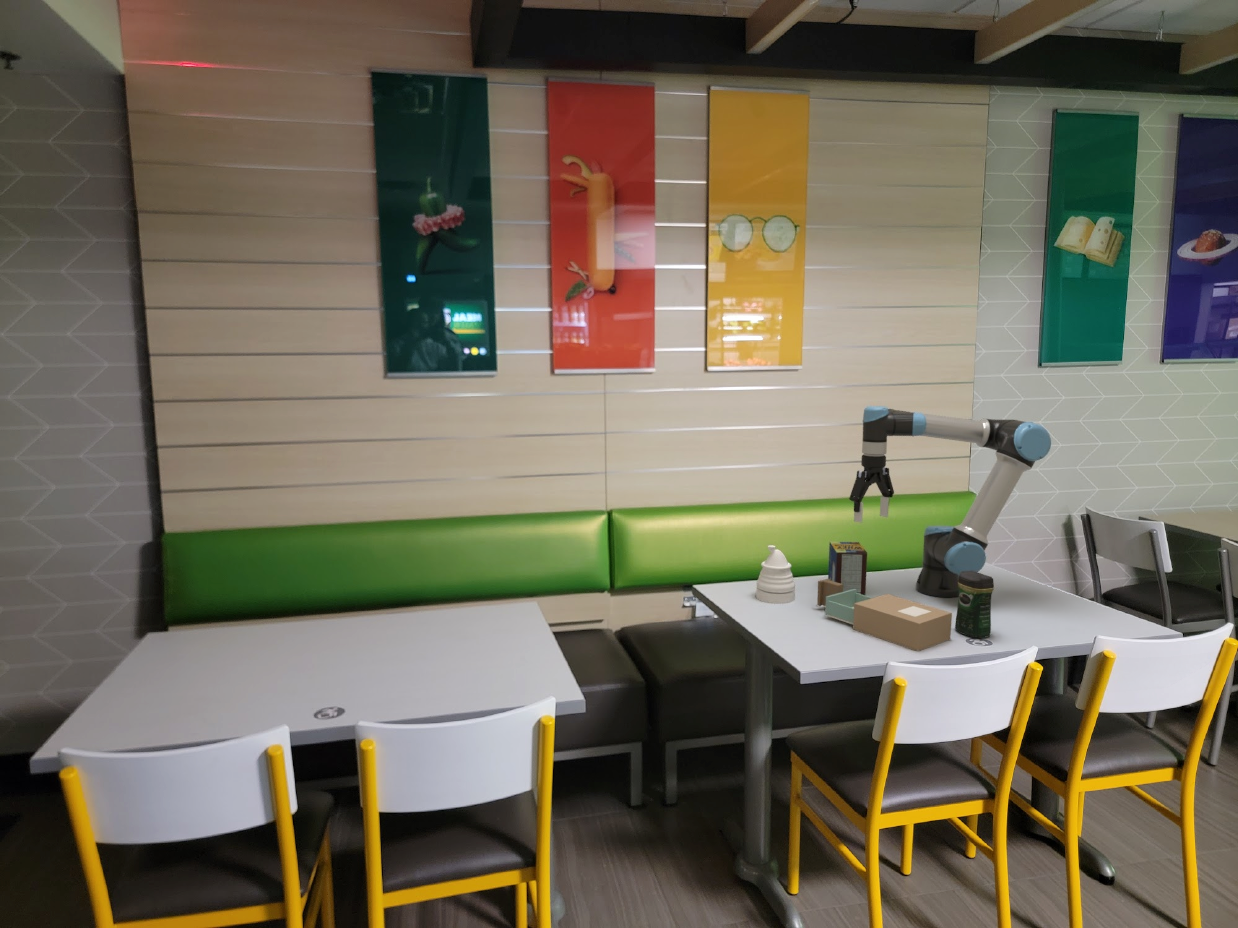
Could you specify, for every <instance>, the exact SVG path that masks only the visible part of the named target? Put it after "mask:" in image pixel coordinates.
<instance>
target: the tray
mask: <svg viewBox="0 0 1238 928" xmlns="http://www.w3.org/2000/svg"><path fill="white" fill-rule="evenodd" d="M856 592H857V589H852V590H849V591H845V592H843V584H840V583H837V582H834V581H831V579H828V578H826V579H823V580H822V579H820V580H818V582H817V599H816V600H817V602H816V603H817V605H816V606H819V607H821V606H824V607H825V612H824V613H825V614H824V615H825V616H827V617H829V618H833V619H836V620H837V621H838V620H839V621H840V622H841V621H842V622H844V623H847V624H850V625H853V618H854V603H858V602H861V601H864V600H868V599H871V598H873V597H871V596H869V595H866V594H865V595H862V594H858V593H856Z"/></svg>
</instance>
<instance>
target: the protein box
mask: <svg viewBox="0 0 1238 928" xmlns="http://www.w3.org/2000/svg"><path fill="white" fill-rule="evenodd" d="M828 547H829V548H828V550H829V551H828V571H827V573H828V574H827V575H828V577H827V579H831V581H834V582H837V583H840V584H843V592H845V591H849V590H852V589H857V592H856V593H858V594H862V595H865V596H866V591H867V590H866V589H867V588H866V587H867V573H868V572H867V570H868V566H867V565H868V552H867V550H866V549H865V548H864V547H863V545H862V544H861V543H860V542H858V541H832V540H831V541H829V546H828Z"/></svg>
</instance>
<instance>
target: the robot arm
mask: <svg viewBox="0 0 1238 928" xmlns="http://www.w3.org/2000/svg"><path fill="white" fill-rule="evenodd" d="M918 436H919V437H927V438H935V439H942V440H950V441H959V442H965V443H971V444H975V445H976V446H977V447H981V448H987V449H991V450H993V451H995V456H996V461H995V463H994V465H993V467H992V469H991V470H990V472H989V474H988V476H987V477H986V479H985V481H984V483H983V485H982V486H981V488H980V490H979V491H978V494H977V495H976V496H975V499H974V501H973V502H972V504H971V505H970V508H969V509H968V511H967V513H966V515H965V517H964V518H963V520H962V522H961V523H960V524H957V525H953V526H952V525H929V526H926V527H925V529H924V534H923V549H922V550H923V551H922V566H921V567H922V568H921V570H920V573H919V575H918V577H917V579H916V582H915V590H916V591H917V592H918V593H921V594H924V595H927V596H932V597H937V598H939V597H940V598H956V597H959V587H958V579H959V575H960V573H961V572H962V571H970V570H973V571H975V572H978V573H980V570H982V569H983V567H984V565H985V564H986V562H987V556H986V553H985V552H986V551H985V550H986V549H987V547H988V545H989V541H988V535H989V533H990V532H991V530H992V528H993V526H994V524H995V523H996V521H997V519H998V518H999V515H1000V514H1001V512H1002V510H1003V508H1004V507H1005V505H1006V504H1007V501H1008V500H1009V498H1010V496H1011V494H1012V493H1013V491H1014V489H1015V488H1016V486H1017V484H1018V482H1019V480H1020V479H1021V477H1022V475H1023V473H1024V472H1027V471H1030V470H1032V468H1033V466H1034V464H1035V463H1036V462H1037V461H1040V460H1041V459H1044V458H1045V457H1046V456H1047V455H1048V454H1049V452H1050V450H1051V446H1052V439H1051V435H1050V433H1049V432H1048V430H1047V429H1046V428H1045V427H1044V426H1042V425H1041V424H1038V423H1034V422H1032V421H1025V420H1024V421H1022V420H1018V419H993V418H982V419H980V420H975V419H967V418H960V417H952V416H945V415H944V416H943V415H937V414H929V413H923V412H916V411H907V410H906V411H905V410H900V409H899V410H898V409H893V408H889V407H887V406H880V405H879V406H878V405H876V406H875V405H873V406H872V405H870V406H867V407H864V410H863V416H862V446H861V447H862V448H861V453H862V455H861V467H863V471H862V470H857V471H856V477H855V480H854V483H853V487H852V489H851V492H850V495H849V501H851V502H853V522H856V523H860V524H861V523H863V516H864V515H863V513H864V502H862V500H863V499H864V498H865V495H866V493H867V492H868V490H869V487H870V486H872V485H874V484H876V486H877V488H878V491H879V492H880V493H881V496H880V502H879V516H880V517H882V518H883V517H884V518H888V517H889V506H890V498H893V496H894V494H895V491H894V490H895V489H894V487H893V483H892V480H891V476H890V468H889V467H886V464H887V456H886V455H887V446H888V442H887V441H888V437H918Z"/></svg>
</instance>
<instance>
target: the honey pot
mask: <svg viewBox="0 0 1238 928" xmlns="http://www.w3.org/2000/svg"><path fill="white" fill-rule="evenodd" d="M776 547H777V546H776V545H772V544H771V545H767V549H768V551H769V552H770V553H769V555H768V556H767V558H766V559H765V560H764V561H762V562H761V563H760V566H761V567H762V568H761V570H760V572H759V576H758V579H757V580H756V589H755V590H756V591H755V593H756V595H755V597H756V599H757V600H759V601H761V602H764V603H768V604H774V605H775V604H776V605H777V604H780V605H781V604H782V605H783V604H790V603H792V602H794V601H795V599H796V582H795V580H794V575H793V572H792V570H791V568H792V563H790V562H789V561H788V560H787V558H786V556H785V554H784V553H783V551H781V550H780V549H776Z"/></svg>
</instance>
